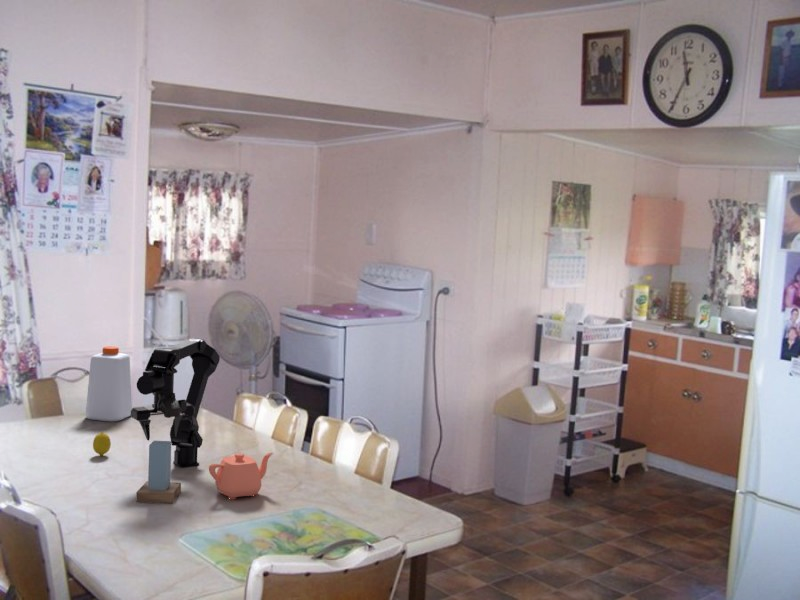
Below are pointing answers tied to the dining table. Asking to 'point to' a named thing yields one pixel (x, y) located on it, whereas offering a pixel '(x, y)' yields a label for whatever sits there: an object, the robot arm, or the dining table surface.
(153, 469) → the blue block
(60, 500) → the dining table surface
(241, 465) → the teapot
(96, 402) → the plastic bottle
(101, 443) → the lemon
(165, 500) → the walnut base
